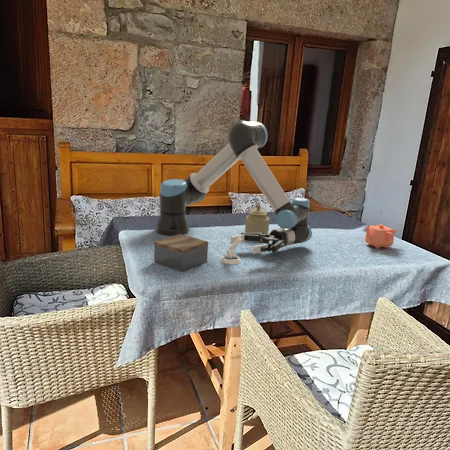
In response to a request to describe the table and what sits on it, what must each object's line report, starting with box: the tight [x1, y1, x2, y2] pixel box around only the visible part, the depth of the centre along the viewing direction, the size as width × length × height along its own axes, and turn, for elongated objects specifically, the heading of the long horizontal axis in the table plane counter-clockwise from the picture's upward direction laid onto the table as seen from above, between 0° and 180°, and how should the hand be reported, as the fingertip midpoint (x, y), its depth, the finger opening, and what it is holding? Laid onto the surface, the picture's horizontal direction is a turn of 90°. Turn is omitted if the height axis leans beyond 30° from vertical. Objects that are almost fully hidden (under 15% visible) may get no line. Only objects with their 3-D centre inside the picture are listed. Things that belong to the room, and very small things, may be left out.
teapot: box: [364, 223, 397, 250], centre depth 189 cm, size 14×12×10 cm
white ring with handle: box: [220, 237, 242, 266], centre depth 160 cm, size 8×12×7 cm
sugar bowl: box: [244, 203, 270, 234], centre depth 197 cm, size 15×11×15 cm
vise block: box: [153, 234, 209, 273], centre depth 157 cm, size 14×14×8 cm
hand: (241, 245), depth 162 cm, fingers open, 13 cm apart
